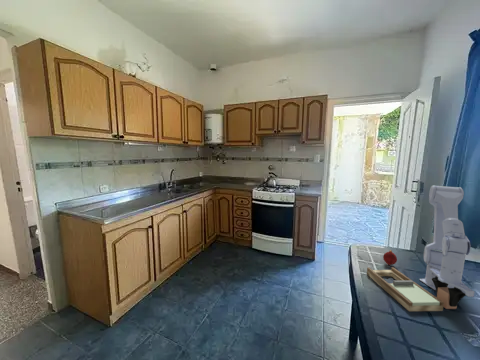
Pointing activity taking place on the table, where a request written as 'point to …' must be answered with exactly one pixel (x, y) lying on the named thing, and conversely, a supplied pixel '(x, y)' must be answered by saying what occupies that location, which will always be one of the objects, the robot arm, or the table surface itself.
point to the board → (396, 294)
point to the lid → (414, 293)
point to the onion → (390, 258)
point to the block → (444, 297)
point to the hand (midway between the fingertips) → (446, 301)
